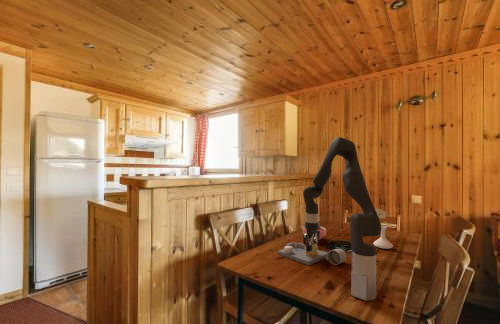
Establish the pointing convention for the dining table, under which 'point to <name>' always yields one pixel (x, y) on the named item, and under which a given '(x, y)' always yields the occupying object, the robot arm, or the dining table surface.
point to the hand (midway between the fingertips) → (311, 250)
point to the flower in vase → (382, 233)
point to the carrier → (300, 253)
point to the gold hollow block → (312, 250)
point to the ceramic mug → (336, 256)
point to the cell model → (321, 229)
